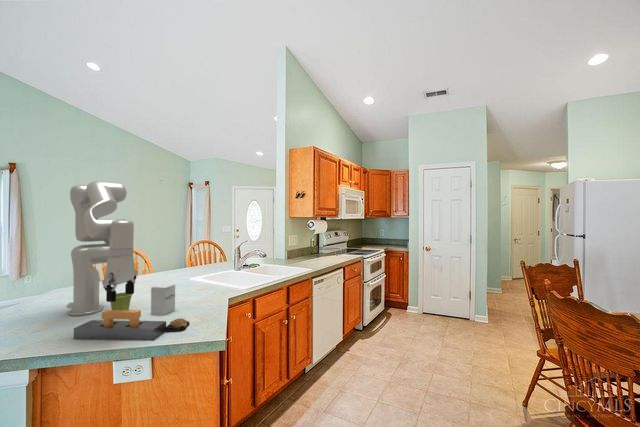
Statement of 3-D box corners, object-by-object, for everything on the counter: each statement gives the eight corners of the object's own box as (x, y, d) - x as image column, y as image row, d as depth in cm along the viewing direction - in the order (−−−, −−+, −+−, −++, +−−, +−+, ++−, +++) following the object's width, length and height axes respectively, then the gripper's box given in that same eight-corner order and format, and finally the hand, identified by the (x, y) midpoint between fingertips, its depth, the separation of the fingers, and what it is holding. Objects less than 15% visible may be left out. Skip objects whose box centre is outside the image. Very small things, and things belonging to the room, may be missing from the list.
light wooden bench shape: (101, 333, 108) (101, 312, 108) (107, 330, 111) (107, 310, 111) (135, 334, 108) (136, 312, 108) (140, 331, 111) (140, 310, 111)
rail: (73, 339, 106) (73, 328, 106) (91, 330, 114) (91, 320, 114) (153, 340, 105) (153, 329, 105) (166, 331, 113) (166, 321, 113)
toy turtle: (169, 325, 121) (169, 316, 121) (191, 323, 123) (191, 314, 123) (162, 334, 111) (162, 325, 111) (185, 332, 113) (185, 323, 113)
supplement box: (164, 315, 131) (164, 287, 131) (150, 314, 132) (150, 286, 132) (175, 310, 138) (175, 284, 138) (162, 309, 140) (162, 283, 140)
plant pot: (111, 311, 136) (111, 293, 136) (134, 309, 140) (134, 291, 140) (105, 318, 128) (105, 298, 128) (130, 315, 131) (130, 296, 131)
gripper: (127, 249, 118) (127, 290, 119) (93, 256, 101) (92, 304, 101) (145, 249, 118) (144, 291, 118) (114, 256, 101) (113, 305, 101)
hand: (120, 297), depth 110 cm, fingers open, 9 cm apart
